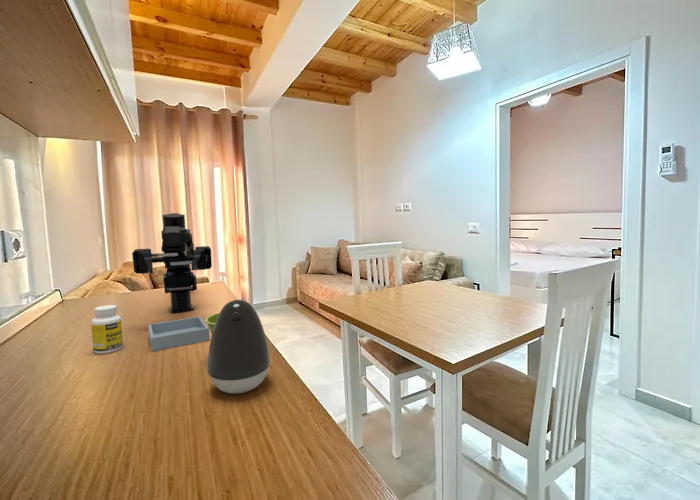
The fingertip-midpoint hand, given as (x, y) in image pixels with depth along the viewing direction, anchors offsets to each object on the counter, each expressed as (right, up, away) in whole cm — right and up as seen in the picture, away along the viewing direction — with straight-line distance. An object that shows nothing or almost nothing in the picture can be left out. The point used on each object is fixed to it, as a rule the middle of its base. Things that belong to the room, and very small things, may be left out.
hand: (172, 269), depth 84 cm
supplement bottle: (-10, -18, -8) cm, 22 cm away
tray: (+3, -17, -2) cm, 17 cm away
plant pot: (+20, -18, -13) cm, 30 cm away
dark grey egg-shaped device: (+26, -19, -26) cm, 41 cm away
